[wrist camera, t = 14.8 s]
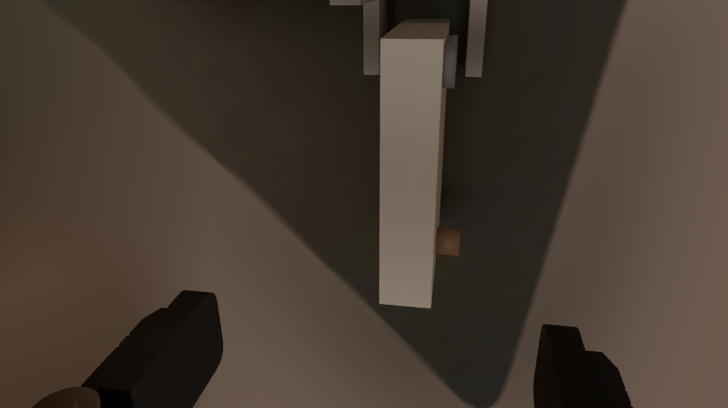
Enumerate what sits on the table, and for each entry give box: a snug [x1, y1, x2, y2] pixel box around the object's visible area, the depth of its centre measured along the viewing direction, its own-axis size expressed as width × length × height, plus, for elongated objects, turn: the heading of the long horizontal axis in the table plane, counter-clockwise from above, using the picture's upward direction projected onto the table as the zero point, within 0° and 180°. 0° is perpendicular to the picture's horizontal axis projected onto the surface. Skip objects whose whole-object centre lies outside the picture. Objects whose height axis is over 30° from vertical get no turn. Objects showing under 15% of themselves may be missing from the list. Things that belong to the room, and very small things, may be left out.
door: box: [379, 19, 460, 308], centre depth 27 cm, size 12×4×10 cm, turn 1°
